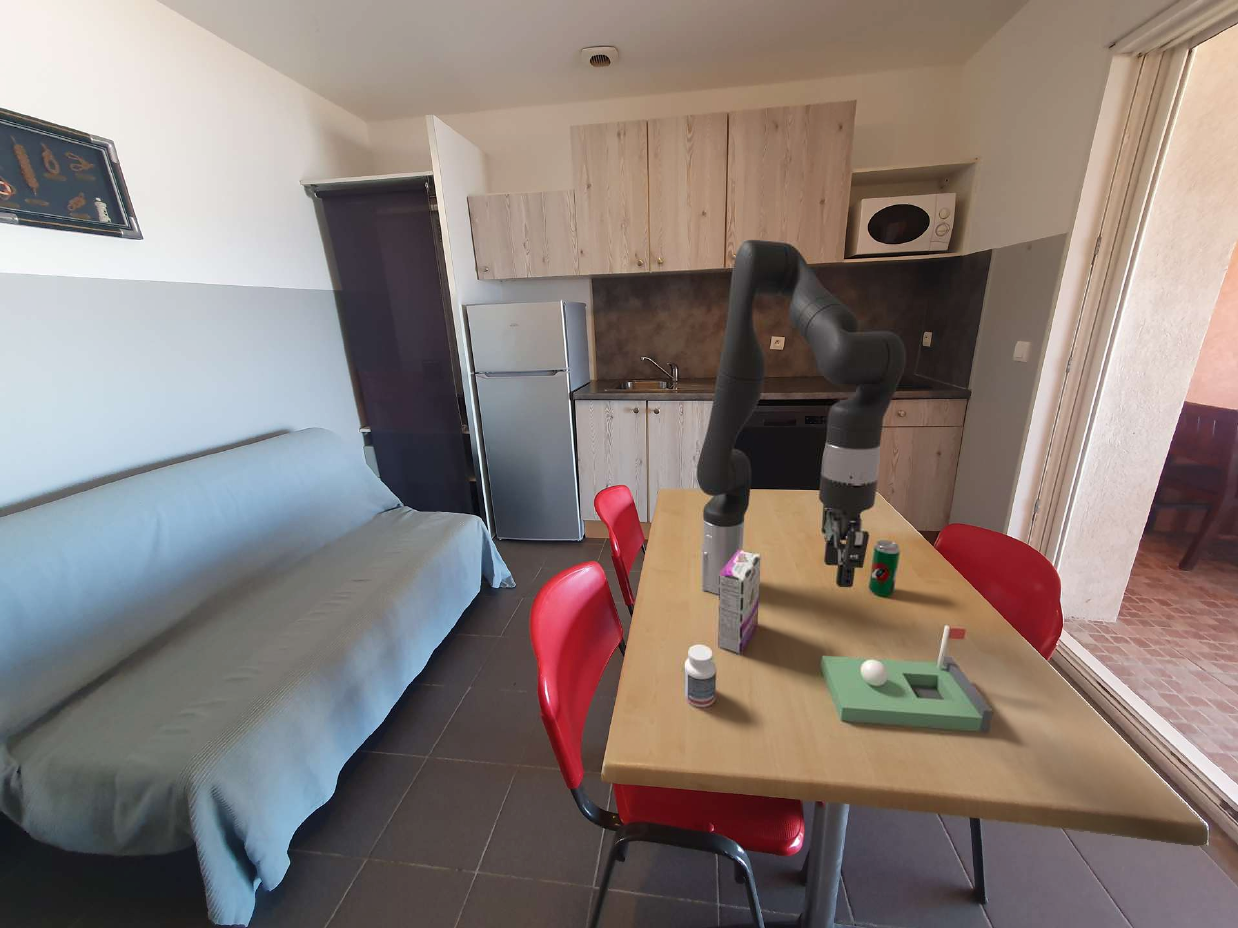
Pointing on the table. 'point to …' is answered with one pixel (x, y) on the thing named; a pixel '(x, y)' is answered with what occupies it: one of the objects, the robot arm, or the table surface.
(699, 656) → the pill bottle
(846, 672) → the green
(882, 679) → the ball
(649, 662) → the table surface
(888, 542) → the soda can
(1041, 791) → the table surface
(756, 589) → the candy bar box
